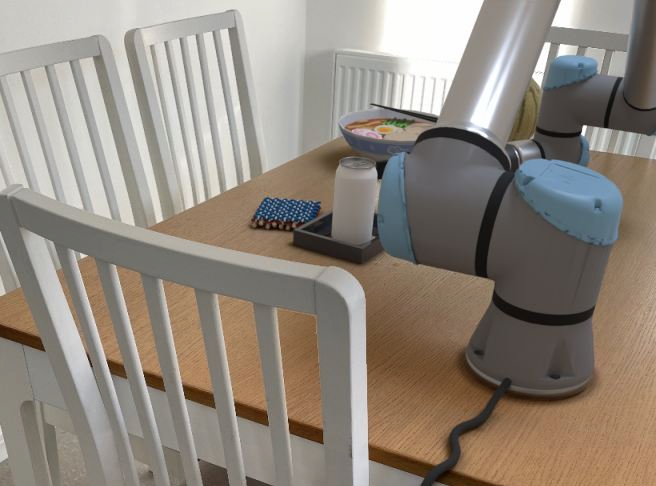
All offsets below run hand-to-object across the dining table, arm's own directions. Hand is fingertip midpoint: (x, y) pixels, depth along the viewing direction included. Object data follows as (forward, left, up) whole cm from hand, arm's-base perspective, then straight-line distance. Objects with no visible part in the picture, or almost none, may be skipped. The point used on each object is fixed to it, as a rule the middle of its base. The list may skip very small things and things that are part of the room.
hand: (398, 183), depth 131 cm
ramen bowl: (+32, +18, -8) cm, 38 cm away
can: (-7, +4, -8) cm, 11 cm away
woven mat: (-6, +17, -8) cm, 20 cm away
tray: (-7, +4, -8) cm, 11 cm away
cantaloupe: (+55, +5, -8) cm, 56 cm away
